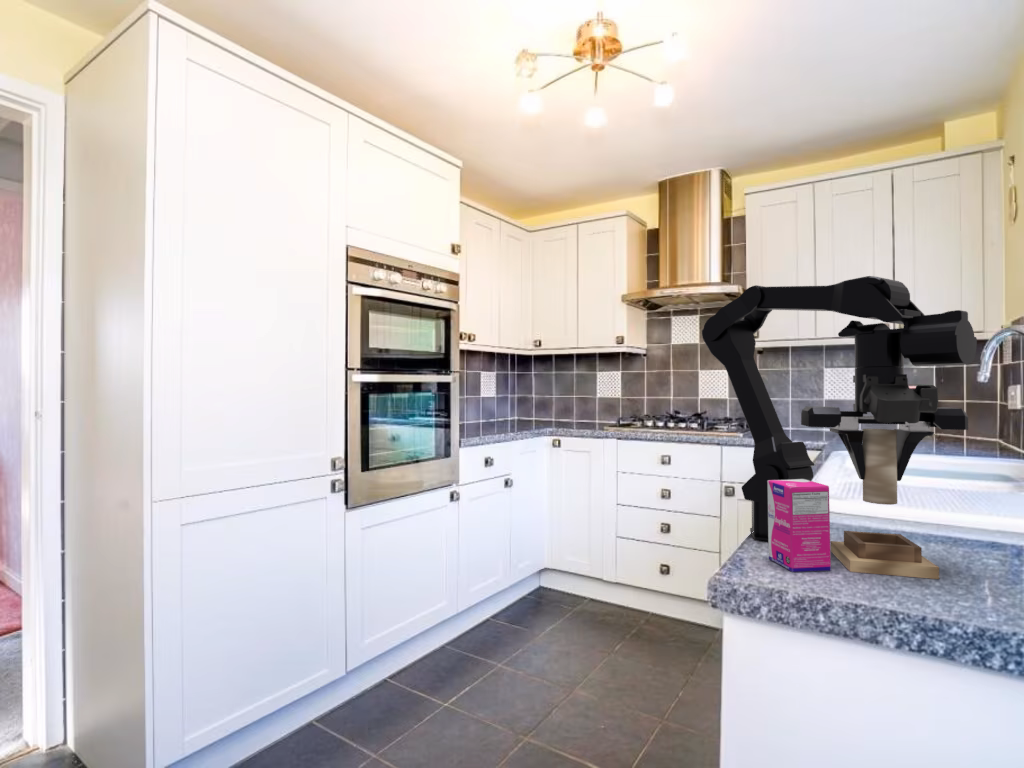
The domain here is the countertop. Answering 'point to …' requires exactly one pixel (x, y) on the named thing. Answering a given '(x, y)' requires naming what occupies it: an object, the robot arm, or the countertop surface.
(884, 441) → the stool leg
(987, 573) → the countertop surface
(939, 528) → the countertop surface
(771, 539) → the supplement box
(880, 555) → the seat board
